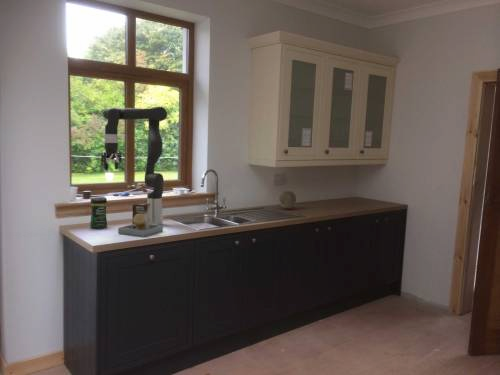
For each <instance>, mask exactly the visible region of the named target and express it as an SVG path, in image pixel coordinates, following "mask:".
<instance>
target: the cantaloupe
mask: <svg viewBox="0 0 500 375" xmlns="http://www.w3.org/2000/svg"><path fill="white" fill-rule="evenodd" d="M296 202H297V196H296V193H294V192H293V191H289V190H284V191H282V192H281V193H280V195H279V204H280V206H281V207H283V209H285V210H291V209H292V208H294V207H295V205H296Z"/></svg>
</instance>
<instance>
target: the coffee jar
mask: <svg viewBox="0 0 500 375" xmlns="http://www.w3.org/2000/svg"><path fill="white" fill-rule="evenodd" d="M107 200H108V199H107V197H99V196H96V197H95V196H94V197H91V199H90V202H89V203H90V206H91V207H90V208H91V216H90V228H91V229H92V228H93V229H103V228H106V227H107V226H108V220H107V219H108V218H107V206H108V201H107Z"/></svg>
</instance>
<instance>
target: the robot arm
mask: <svg viewBox="0 0 500 375" xmlns="http://www.w3.org/2000/svg"><path fill="white" fill-rule="evenodd" d="M102 116H103V117H104V119H106V120H107V123H106V124H105V126H104V150H105V151H101V156H100V158H101V159H100V161H101V163H103V168H104V171H108V170H109V161H111V160H112V161H113V162H114V170H119V163H120V162H122V152H121V151H118V150H119V137H118V136H119V134H118V132H119V131H118V126H119V122H120V120H123V121H124V120H125V121H128V120H129V121H133V120H147V121H148V136H147V149H146V150H147V151H146V152H147V155H146V157H147V158H146V166H145V174H144V185H145V186H146V187H147V188H153V190H152V191H150V192H148V193H147V194H146V195H147V196H146V197H147V199H146V204H150V224H153V225H161V226H162V225H163V222H164V221H163V212H164V211H163V193H164V176H163V174H162V173H159V172H155V166H156V165H157V163H158V161H159V159H160V157H161V156H162V154H163V144H164V142H163V139H162V135H161V133H160V123H161V122H163V121H165V120H166V118H167V117H168V112H167V109H166V108H165V107H163V106H160V105H158V106H153V107H150V108H142V107H141V108H139V107H135V108H134V107H121V108H116V107H106V108H105V109H104V110H103V111H102Z"/></svg>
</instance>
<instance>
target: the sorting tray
mask: <svg viewBox="0 0 500 375" xmlns="http://www.w3.org/2000/svg"><path fill="white" fill-rule="evenodd" d="M163 228H164V225H162V224H161V225H153V224H150V229H147V230H144V231H143V230H135V229H132V224H128V225H124V226H120V227H118V228H117V230H118V231H117V232H118V234H119V235H124V236H125V235H126V236H131V237H132V236H133V237H140V238H146V237H149V236H152V235H157V234H159V233H162V232H164V231H163V230H164V229H163Z"/></svg>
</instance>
